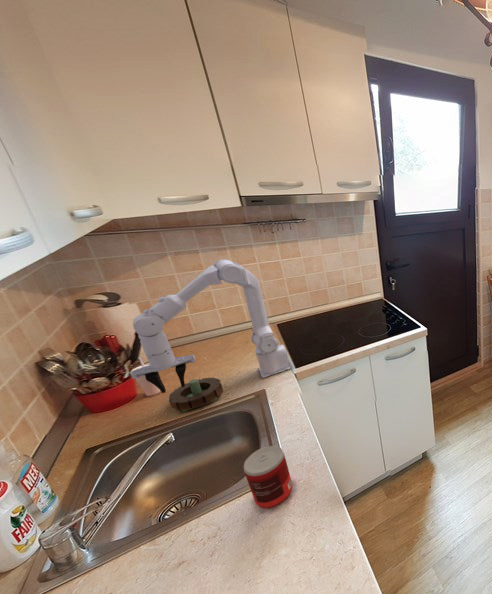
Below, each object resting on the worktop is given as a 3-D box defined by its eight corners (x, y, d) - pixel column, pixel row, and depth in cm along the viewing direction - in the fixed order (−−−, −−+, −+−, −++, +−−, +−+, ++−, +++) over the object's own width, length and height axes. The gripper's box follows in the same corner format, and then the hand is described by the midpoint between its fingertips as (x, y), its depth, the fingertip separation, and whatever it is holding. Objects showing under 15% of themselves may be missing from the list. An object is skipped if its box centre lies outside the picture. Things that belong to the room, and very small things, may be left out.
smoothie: (150, 399, 110) (134, 363, 105) (135, 397, 111) (119, 361, 106) (171, 388, 115) (156, 353, 110) (156, 385, 117) (141, 351, 112)
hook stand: (215, 387, 116) (209, 370, 113) (217, 400, 109) (211, 382, 107) (182, 398, 110) (175, 380, 108) (182, 412, 104) (174, 393, 101)
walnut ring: (221, 379, 118) (218, 373, 117) (224, 397, 108) (222, 390, 107) (172, 395, 110) (169, 388, 109) (171, 415, 100) (168, 408, 99)
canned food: (281, 474, 82) (271, 440, 78) (300, 489, 78) (290, 454, 74) (248, 499, 76) (235, 463, 72) (267, 516, 72) (255, 479, 68)
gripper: (189, 339, 107) (202, 374, 112) (126, 354, 98) (143, 391, 103) (189, 347, 102) (203, 383, 107) (123, 364, 93) (141, 402, 98)
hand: (173, 388), depth 105 cm, fingers open, 4 cm apart
